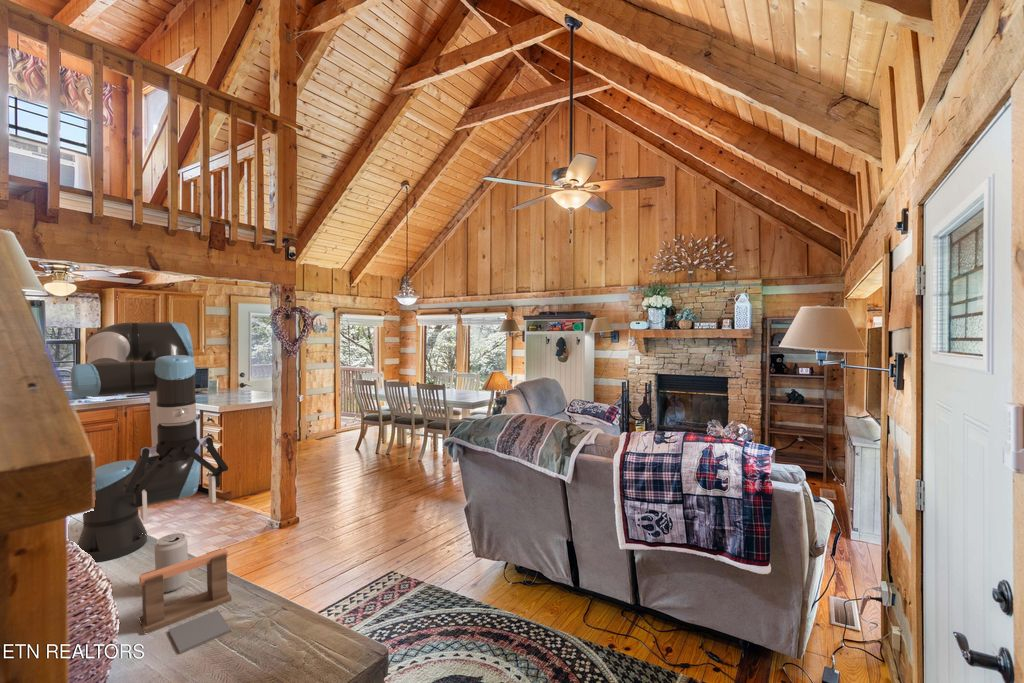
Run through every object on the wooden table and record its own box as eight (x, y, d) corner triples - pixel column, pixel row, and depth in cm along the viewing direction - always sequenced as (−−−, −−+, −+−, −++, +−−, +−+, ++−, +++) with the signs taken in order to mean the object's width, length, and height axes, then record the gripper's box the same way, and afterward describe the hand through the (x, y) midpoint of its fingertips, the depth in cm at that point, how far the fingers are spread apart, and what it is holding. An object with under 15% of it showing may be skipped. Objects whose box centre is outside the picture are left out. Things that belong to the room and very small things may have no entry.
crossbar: (139, 582, 99) (139, 575, 99) (224, 554, 111) (224, 548, 111) (141, 586, 98) (141, 579, 98) (227, 557, 110) (227, 551, 109)
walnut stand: (139, 621, 101) (137, 573, 100) (223, 589, 113) (222, 546, 112) (145, 634, 97) (143, 584, 96) (231, 600, 109) (230, 555, 108)
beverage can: (171, 596, 110) (170, 546, 109) (149, 592, 111) (147, 543, 110) (195, 580, 116) (193, 533, 115) (173, 577, 118) (171, 530, 117)
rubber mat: (168, 631, 98) (168, 629, 98) (217, 611, 105) (217, 609, 105) (179, 653, 92) (179, 651, 92) (231, 631, 99) (231, 628, 98)
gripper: (110, 435, 98) (114, 533, 100) (241, 416, 117) (242, 498, 119) (104, 428, 103) (108, 521, 105) (230, 410, 122) (232, 490, 123)
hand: (179, 509), depth 112 cm, fingers open, 13 cm apart
